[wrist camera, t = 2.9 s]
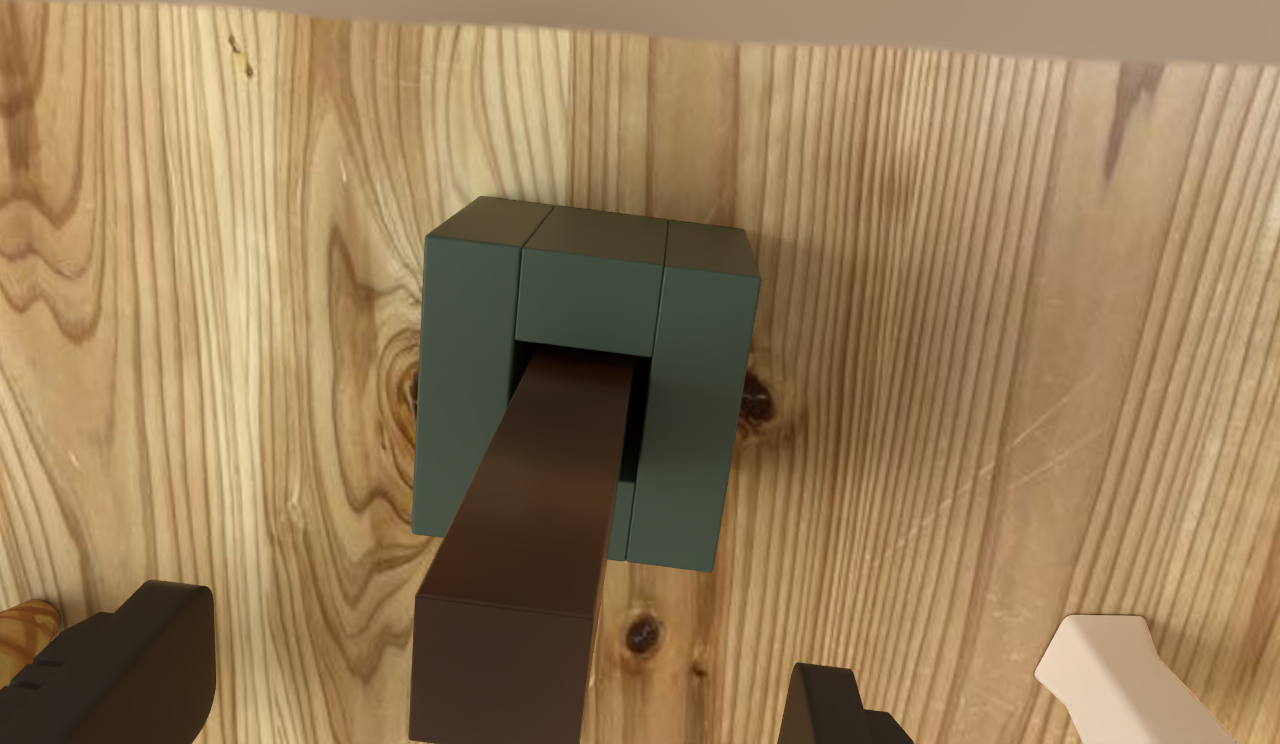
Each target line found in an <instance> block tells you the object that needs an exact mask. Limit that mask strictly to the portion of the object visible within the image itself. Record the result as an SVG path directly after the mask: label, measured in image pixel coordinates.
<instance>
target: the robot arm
mask: <svg viewBox="0 0 1280 744" xmlns="http://www.w3.org/2000/svg"><path fill="white" fill-rule="evenodd" d="M215 688H216V660H215V629H214V601H213V595H212V592H211V590H210V589H209V588H208V587H207V586H199V585H192V584H184V583H176V582H168V581H160V580H149V581H147V582H145V583H144V584H143V585H142V586H141V587H140V588H139V589H138V590H137V591H136V592H135V593H134V594H133V595H132V596H131V597H130V598H129V599H128V600H127V601H126V602H125V603H124V604H123V605H122V606H121V607H120V608H119V609H118V610H117V611H116V612H115V613H108V612H99V613H97V614H95V615H93V616H91V617H89V618H88V619H86V620H84V621H82V622H80V623H78V624H76V625H74V626H72V627H70V628H69V629H67V630H65V631H63V632H61V633H60V634H59V635H58V636H57V637H56V638H55V639H54V640H53V641H52V642H50V643H49V644H48V645H47V646H46V647H45V648H44V649H43V650H42V651H41V652H40V653H39V654H38V655H37V656H36V657H35V658H34V659H33V663H32V664H27V665H26V666H25V667H24V668H23V669H22V670H21V671H20V672H19V673H18V674H17V675H16V676H15V677H13V678H12V679H11V682H10V685H9V686H4V687H3V688H2V689H1V690H0V744H192V742H193V741H194V740H195V738H196V737H197V735H198V734H199V732H200V731H201V729H202V728H203V726H204V724H205V722H206V720H207V718H208V715H209V713H210V710H211V707H212V703H213V699H214V695H215ZM777 744H914V743H913V741H912V739H911V738H910V737H909V736H908V735H907V734H906V732H905V731H904V730H903V729H902V728H901V727H900V725H899V724H898V723H897V722H896V721H895V719H894V718H893V717H892V716H891V715H890V714H889V712H881V711H873V710H865V709H863V705H862V702H861V698H860V694H859V691H858V687H857V684H856V680H855V677H854V674H853V672H852V670H851V669H846V668H838V667H830V666H822V665H814V664H806V663H798V662H797V663H796V664H795V666H794V668H793V671H792V675H791V680H790V685H789V689H788V694H787V699H786V704H785V709H784V714H783V719H782V724H781V728H780V733H779V738H778V743H777Z"/></svg>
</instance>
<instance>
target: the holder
mask: <svg viewBox="0 0 1280 744" xmlns="http://www.w3.org/2000/svg"><path fill="white" fill-rule="evenodd" d="M760 286H761V277H760V274H759V271H758V268H757V265H756V262H755V259H754V256H753V253H752V250H751V247H750V244H749V241H748V238H747V235H746V232H745V230H744V229H737V228H729V227H721V226H713V225H706V224H698V223H690V222H682V221H674V220H669V221H668V220H667V219H659V218H651V217H643V216H636V215H628V214H620V213H612V212H604V211H596V210H588V209H581V208H573V207H565V206H556V207H555V206H553V205H547V204H539V203H532V202H524V201H516V200H508V199H500V198H492V197H484V196H480V197H478V198H477V199H476V200H474V201H473V202H471V203H470V204H469V205H467V206H466V207H465V208H463V209H462V210H460V211H459V212H458V213H456V214H455V215H454V216H452V217H451V218H449V219H448V220H447V221H445V222H444V223H443V224H441V225H440V226H438V227H437V228H436V229H434V230H433V231H432V232H430V233H429V234H427V235H426V237H425V249H424V270H423V292H422V314H421V336H420V358H419V380H418V402H417V424H416V446H415V467H414V489H413V511H412V533H413V534H418V535H425V536H433V537H441V538H444V536H445V534H446V532H447V530H448V528H449V526H450V524H451V522H452V520H453V518H454V516H455V513H456V511H457V509H458V507H459V505H460V503H461V501H462V499H463V497H464V495H465V493H466V491H467V489H468V487H469V485H470V483H471V481H472V479H473V477H474V475H475V473H476V471H477V469H478V467H479V465H480V462H481V460H482V458H483V456H484V454H485V452H486V450H487V448H488V446H489V444H490V442H491V440H492V438H493V436H494V434H495V432H496V430H497V428H498V426H499V424H500V422H501V420H502V418H503V416H504V414H505V411H506V409H507V407H508V405H509V403H510V401H511V399H512V397H513V395H514V393H515V391H516V389H517V387H518V385H519V383H520V381H521V379H522V377H523V375H524V373H525V371H526V369H527V367H528V365H529V362H530V360H531V358H532V356H533V354H534V352H535V350H536V348H537V346H538V344H539V343H542V344H549V345H557V346H565V347H573V348H581V349H589V350H596V351H604V352H612V353H620V354H628V355H636V356H643V357H650V364H649V372H648V380H647V388H646V395H645V398H644V397H637V396H632V397H631V404H630V410H629V417H628V424H627V430H626V437H625V444H624V451H623V457H622V464H621V471H620V477H619V484H618V491H617V498H616V504H615V511H614V518H613V524H612V531H611V538H610V544H609V551H608V558H607V559H608V560H616V561H625V560H626V561H627V562H633V563H641V564H648V565H656V566H664V567H672V568H680V569H687V570H695V571H703V572H712V571H713V569H714V563H715V557H716V551H717V545H718V539H719V533H720V527H721V521H722V515H723V509H724V503H725V497H726V491H727V485H728V479H729V473H730V467H731V461H732V455H733V449H734V443H735V437H736V431H737V425H738V419H739V412H740V406H741V400H742V394H743V388H744V382H745V376H746V370H747V364H748V358H749V352H750V346H751V340H752V334H753V328H754V322H755V316H756V310H757V304H758V298H759V292H760Z"/></svg>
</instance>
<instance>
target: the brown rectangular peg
mask: <svg viewBox="0 0 1280 744" xmlns="http://www.w3.org/2000/svg"><path fill="white" fill-rule="evenodd" d="M636 360H637V356H636V355H628V354H620V353H612V352H604V351H596V350H589V349H581V348H573V347H565V346H557V345H549V344H542V343H539V344H538V346H537V348H536V350H535V352H534V354H533V356H532V358H531V360H530V362H529V365H528V367H527V369H526V371H525V373H524V375H523V377H522V379H521V381H520V383H519V385H518V387H517V389H516V391H515V393H514V395H513V397H512V399H511V401H510V403H509V405H508V407H507V409H506V411H505V414H504V416H503V418H502V420H501V422H500V424H499V426H498V428H497V430H496V432H495V434H494V436H493V438H492V440H491V442H490V444H489V446H488V448H487V450H486V452H485V454H484V456H483V458H482V460H481V462H480V465H479V467H478V469H477V471H476V473H475V475H474V477H473V479H472V481H471V483H470V485H469V487H468V489H467V491H466V493H465V495H464V497H463V499H462V501H461V503H460V505H459V507H458V509H457V511H456V513H455V516H454V518H453V520H452V522H451V524H450V526H449V528H448V530H447V532H446V534H445V536H444V538H443V540H442V542H441V544H440V546H439V548H438V550H437V552H436V554H435V556H434V558H433V560H432V562H431V564H430V567H429V569H428V571H427V573H426V575H425V577H424V579H423V581H422V583H421V585H420V587H419V589H418V591H417V593H416V595H415V611H414V632H413V653H412V673H411V694H410V715H409V740H411V741H419V742H427V743H435V744H580V739H581V732H582V725H583V719H584V712H585V705H586V699H587V692H588V685H589V679H590V672H591V665H592V658H593V652H594V645H595V638H596V632H597V625H598V618H599V611H600V605H601V598H602V591H603V585H604V578H605V571H606V565H607V558H608V551H609V544H610V538H611V531H612V524H613V518H614V511H615V504H616V498H617V491H618V484H619V477H620V471H621V464H622V457H623V451H624V444H625V437H626V430H627V424H628V417H629V410H630V404H631V397H632V390H633V384H634V376H635V368H636Z"/></svg>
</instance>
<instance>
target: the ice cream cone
mask: <svg viewBox="0 0 1280 744" xmlns="http://www.w3.org/2000/svg"><path fill="white" fill-rule="evenodd" d="M59 625H60V616H59V614H58V612H57V611H56V609H54V608H53V607H52V606H51V605H50V604H48V603H46V602H43V601H40V600H31V601H27V602H25V603H22V604H20V605H17V606H15V607H12V608H10V609H7V610H5V611H2V612H0V690H1V689H2V688H3V687H4V686H9V685H10V682H11V679H12V678H13V677H15V676H16V675H17V674H18V673H19V672H20V671H21V670H22V669H23V668H24V667H25V666H26V665H27V664H32V663H33V659H34V658H35V657H36V656H37V655H38V654H39V653H40V652H41V651H42V650H43V649H44V648H45V647H46V646H47V645H48V644H49V643H50V642H51V641H52V639H53V637H54V635H55V633H56V631H57V630H58V627H59Z"/></svg>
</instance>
